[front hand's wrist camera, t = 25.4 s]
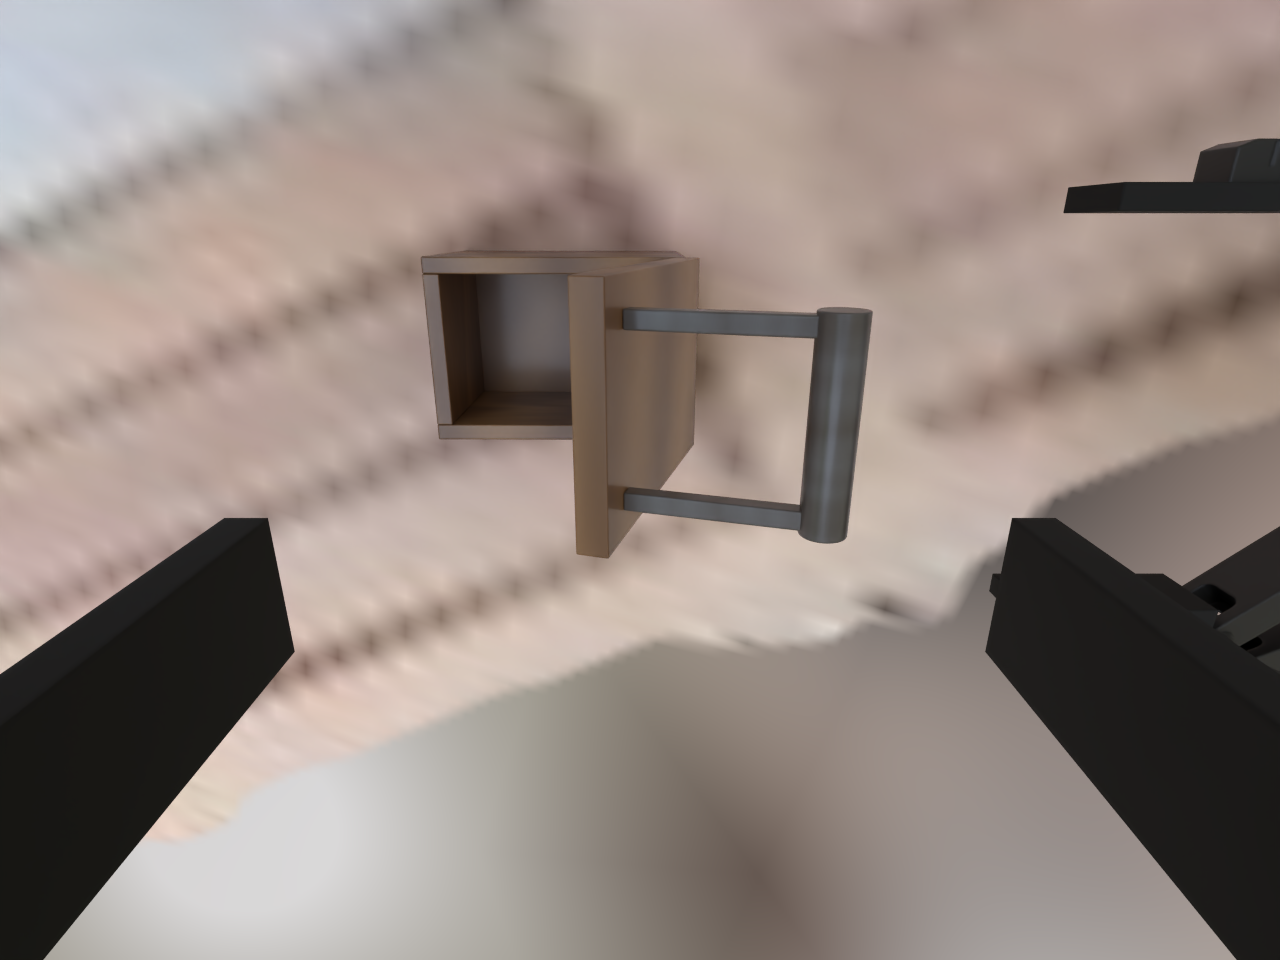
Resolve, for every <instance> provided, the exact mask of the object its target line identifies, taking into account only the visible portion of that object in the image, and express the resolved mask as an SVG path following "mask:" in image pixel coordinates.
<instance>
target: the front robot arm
mask: <svg viewBox="0 0 1280 960" xmlns="http://www.w3.org/2000/svg"><path fill="white" fill-rule="evenodd" d="M294 652H295V651H294V646H293V641H292V636H291V631H290V626H289V621H288V616H287V611H286V606H285V601H284V596H283V591H282V586H281V581H280V576H279V571H278V566H277V561H276V556H275V552H274V547H273V542H272V537H271V532H270V527H269V522H268V518H224V519H222V520H221V521H220V522H218V523H217V524H215V525H214V526H212V527H211V528H209V529H208V530H207V531H205V532H204V533H202V534H201V535H199V536H198V537H197V538H195V539H194V540H192V541H191V542H189V543H188V544H187V545H185V546H184V547H182V548H181V549H179V550H178V551H176V552H175V553H174V554H172V555H171V556H169V557H168V558H166V559H165V560H164V561H162V562H161V563H159V564H158V565H156V566H155V567H154V568H152V569H151V570H149V571H148V572H146V573H145V574H144V575H142V576H141V577H139V578H138V579H136V580H135V581H133V582H132V583H131V584H129V585H128V586H126V587H125V588H123V589H122V590H121V591H119V592H118V593H116V594H115V595H113V596H112V597H111V598H109V599H108V600H106V601H105V602H103V603H102V604H100V605H99V606H98V607H96V608H95V609H93V610H92V611H90V612H89V613H88V614H86V615H85V616H83V617H82V618H80V619H79V620H78V621H76V622H75V623H73V624H72V625H70V626H69V627H67V628H66V629H65V630H63V631H62V632H60V633H59V634H57V635H56V636H55V637H53V638H52V639H50V640H49V641H47V642H46V643H45V644H43V645H42V646H40V647H39V648H37V649H36V650H34V651H33V652H32V653H30V654H29V655H27V656H26V657H24V658H23V659H22V660H20V661H19V662H17V663H16V664H14V665H13V666H12V667H10V668H9V669H7V670H6V671H4V672H3V673H1V674H0V960H43V959H44V958H45V957H46V956H47V955H48V953H49V952H50V951H51V950H52V948H53V947H54V946H55V945H56V943H57V942H58V941H59V940H60V939H61V937H62V936H63V935H64V934H65V933H66V931H67V930H68V929H69V928H70V926H71V925H72V924H73V923H74V921H75V920H76V919H77V918H78V917H79V915H80V914H81V913H82V912H83V910H84V909H85V908H86V907H87V906H88V904H89V903H90V902H91V901H92V899H93V898H94V897H95V896H96V895H97V893H98V892H99V891H100V890H101V888H102V887H103V886H104V885H105V883H106V882H107V881H108V880H109V879H110V877H111V876H112V875H113V874H114V872H115V871H116V870H117V869H118V867H119V866H120V865H121V864H122V863H123V861H124V860H125V859H126V858H127V856H128V855H129V854H130V853H131V852H132V850H133V849H134V848H135V847H136V845H137V844H138V843H139V842H140V841H141V839H142V838H143V837H144V836H145V834H146V833H147V832H148V831H149V830H150V828H151V827H152V826H153V825H154V823H155V822H156V821H157V820H158V819H159V817H160V816H161V815H162V814H163V812H164V811H165V810H166V809H167V808H168V806H169V805H170V804H171V803H172V801H173V800H174V799H175V798H176V796H177V795H178V794H179V793H180V792H181V790H182V789H183V788H184V787H185V785H186V784H187V783H188V782H189V781H190V779H191V778H192V777H193V776H194V774H195V773H196V772H197V771H198V770H199V768H200V767H201V766H202V765H203V763H204V762H205V761H206V760H207V758H208V757H209V756H210V755H211V754H212V752H213V751H214V750H215V749H216V747H217V746H218V745H219V744H220V743H221V741H222V740H223V739H224V738H225V736H226V735H227V734H228V733H229V732H230V730H231V729H232V728H233V727H234V725H235V724H236V723H237V722H238V720H239V719H240V718H241V717H242V716H243V714H244V713H245V712H246V711H247V709H248V708H249V707H250V706H251V705H252V703H253V702H254V701H255V700H256V698H257V697H258V696H259V695H260V694H261V692H262V691H263V690H264V689H265V687H266V686H267V685H268V684H269V682H270V681H271V680H272V679H273V678H274V676H275V675H276V674H277V673H278V671H279V670H280V669H281V668H282V667H283V665H284V664H285V663H286V662H287V660H288V659H289V658H290V657H291V656H292V654H293V653H294ZM985 652H986V653H987V654H988V656H989V657H990V658H991V659H992V660H993V662H994V663H995V664H996V665H997V667H998V668H999V669H1000V670H1001V671H1002V673H1003V674H1004V675H1005V676H1006V678H1007V679H1008V680H1009V681H1010V682H1011V684H1012V685H1013V686H1014V687H1015V689H1016V690H1017V691H1018V692H1019V693H1020V695H1021V696H1022V697H1023V698H1024V700H1025V701H1026V702H1027V703H1028V705H1029V706H1030V707H1031V708H1032V709H1033V711H1034V712H1035V713H1036V714H1037V716H1038V717H1039V718H1040V719H1041V720H1042V722H1043V723H1044V724H1045V725H1046V727H1047V728H1048V729H1049V730H1050V731H1051V733H1052V734H1053V735H1054V736H1055V738H1056V739H1057V740H1058V741H1059V743H1060V744H1061V745H1062V746H1063V747H1064V749H1065V750H1066V751H1067V752H1068V753H1069V755H1070V756H1071V757H1072V758H1073V760H1074V761H1075V762H1076V763H1077V765H1078V766H1079V767H1080V768H1081V769H1082V771H1083V772H1084V773H1085V774H1086V776H1087V777H1088V778H1089V779H1090V781H1091V782H1092V783H1093V784H1094V785H1095V787H1096V788H1097V789H1098V790H1099V792H1100V793H1101V794H1102V795H1103V796H1104V798H1105V799H1106V800H1107V801H1108V803H1109V804H1110V805H1111V806H1112V808H1113V809H1114V810H1115V811H1116V812H1117V814H1118V815H1119V816H1120V817H1121V818H1122V820H1123V821H1124V822H1125V823H1126V825H1127V826H1128V827H1129V828H1130V830H1131V831H1132V832H1133V833H1134V834H1135V836H1136V837H1137V838H1138V839H1139V841H1140V842H1141V843H1142V844H1143V845H1144V847H1145V848H1146V849H1147V850H1148V852H1149V853H1150V854H1151V855H1152V857H1153V858H1154V859H1155V860H1156V861H1157V863H1158V864H1159V865H1160V866H1161V868H1162V869H1163V870H1164V871H1165V872H1166V874H1167V875H1168V876H1169V877H1170V879H1171V880H1172V881H1173V882H1174V883H1175V885H1176V886H1177V887H1178V888H1179V890H1180V891H1181V892H1182V893H1183V894H1184V896H1185V897H1186V898H1187V899H1188V901H1189V902H1190V903H1191V904H1192V906H1193V907H1194V908H1195V909H1196V910H1197V912H1198V913H1199V914H1200V915H1201V917H1202V918H1203V919H1204V920H1205V921H1206V923H1207V924H1208V925H1209V926H1210V928H1211V929H1212V930H1213V931H1214V933H1215V934H1216V935H1217V936H1218V937H1219V939H1220V940H1221V941H1222V942H1223V944H1224V945H1225V946H1226V947H1227V948H1228V950H1229V951H1230V952H1231V953H1232V955H1233V956H1234V957H1235V958H1236V959H1237V960H1280V672H1279V671H1277V670H1275V669H1273V668H1271V667H1269V666H1267V665H1266V664H1264V663H1263V662H1261V661H1260V660H1258V659H1257V658H1256V657H1254V656H1253V655H1251V654H1250V653H1248V652H1247V651H1246V650H1244V649H1243V648H1241V647H1240V646H1238V645H1237V644H1235V643H1234V642H1233V641H1231V640H1230V639H1228V638H1227V637H1225V636H1224V635H1223V634H1221V633H1220V632H1218V631H1217V630H1215V629H1214V628H1213V627H1211V626H1210V625H1208V624H1207V623H1205V622H1204V621H1202V620H1201V619H1200V618H1198V617H1197V616H1195V615H1194V614H1192V613H1191V612H1190V611H1188V610H1187V609H1185V608H1184V607H1182V606H1181V605H1180V604H1178V603H1177V602H1175V601H1174V600H1172V599H1171V598H1169V597H1168V596H1167V595H1165V594H1164V593H1162V592H1161V591H1159V590H1158V589H1157V588H1155V587H1154V586H1152V585H1151V584H1149V583H1148V582H1147V581H1145V580H1144V579H1142V578H1141V577H1139V576H1138V575H1136V574H1135V573H1134V572H1132V571H1131V570H1129V569H1128V568H1126V567H1125V566H1124V565H1122V564H1121V563H1119V562H1118V561H1116V560H1115V559H1114V558H1112V557H1111V556H1109V555H1108V554H1106V553H1105V552H1103V551H1102V550H1101V549H1099V548H1098V547H1096V546H1095V545H1093V544H1092V543H1091V542H1089V541H1088V540H1086V539H1085V538H1083V537H1082V536H1081V535H1079V534H1078V533H1076V532H1075V531H1073V530H1072V529H1070V528H1069V527H1068V526H1066V525H1065V524H1063V523H1062V522H1060V521H1059V520H1058V519H1056V518H1012V522H1011V527H1010V532H1009V537H1008V542H1007V547H1006V552H1005V556H1004V562H1003V567H1002V571H1001V576H1000V581H999V586H998V591H997V596H996V601H995V606H994V611H993V616H992V621H991V626H990V631H989V636H988V641H987V646H986V651H985Z"/></svg>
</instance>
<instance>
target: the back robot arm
mask: <svg viewBox="0 0 1280 960" xmlns="http://www.w3.org/2000/svg"><path fill="white" fill-rule="evenodd" d="M1064 213H1280V139H1253V140H1246V141H1239V142H1232V143H1225V144H1219V145H1216V146H1214V147H1211V148H1209V149H1206V150H1204V151H1201V152H1200V156H1199V160H1198V164H1197V168H1196V172H1195V176H1194V179H1193V182H1121V183H1111V184H1100V185H1090V186H1079V187H1069V188H1068V193H1067V198H1066V203H1065V208H1064ZM1136 575H1138V576H1139V577H1141V578H1142V579H1144V580H1145V581H1147V582H1148V583H1149V584H1151V585H1152V586H1154V587H1155V588H1157V589H1158V590H1159V591H1161V592H1162V593H1164V594H1165V595H1167V596H1168V597H1169V598H1171V599H1172V600H1174V601H1175V602H1177V603H1178V604H1180V605H1181V606H1182V607H1184V608H1185V609H1187V610H1188V611H1190V612H1191V613H1192V614H1194V615H1195V616H1197V617H1198V618H1200V619H1201V620H1202V621H1204V622H1205V623H1207V624H1208V625H1210V626H1211V627H1213V628H1214V629H1215V630H1217V631H1218V632H1220V633H1221V634H1223V635H1224V636H1225V637H1227V638H1228V639H1230V640H1231V641H1233V642H1234V643H1235V644H1237V645H1238V646H1240V647H1241V648H1243V649H1244V650H1246V651H1247V652H1248V653H1250V654H1251V655H1253V656H1254V657H1256V658H1257V659H1258V660H1260V661H1261V662H1263V663H1264V664H1266V665H1267V666H1269V667H1271V668H1273V669H1275V670H1277V671H1279V672H1280V527H1278V528H1276V529H1275V530H1273V531H1271V532H1270V533H1268V534H1267V535H1265V536H1263V537H1262V538H1260V539H1258V540H1257V541H1255V542H1253V543H1252V544H1250V545H1249V546H1247V547H1245V548H1244V549H1242V550H1240V551H1239V552H1237V553H1235V554H1234V555H1232V556H1231V557H1229V558H1227V559H1226V560H1224V561H1222V562H1221V563H1219V564H1218V565H1216V566H1214V567H1213V568H1211V569H1209V570H1208V571H1206V572H1204V573H1203V574H1201V575H1199V576H1198V577H1196V578H1195V579H1193V580H1191V581H1190V582H1188V583H1186V584H1185V585H1183V586H1181V585H1179V584H1178V583H1176V582H1175V581H1173V580H1172V579H1170V578H1169V577H1167V576H1166V575H1164V574H1136ZM1000 576H1001V574H993V575H992V580H991V585H990V590H989V591H990V592H991V593H992V594H993V595H994V596H995V597H996V596H997V591H998V586H999V581H1000ZM1218 612H1220V613H1221V614H1220V615H1217V614H1218Z"/></svg>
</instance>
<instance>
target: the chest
mask: <svg viewBox="0 0 1280 960" xmlns="http://www.w3.org/2000/svg"><path fill="white" fill-rule="evenodd" d="M671 258H686V257H684V256H683V255H681V254H680V253H678V252H676V251H460V252H453V253H445V254H437V255H430V256H422V257H421V265H422V273H423V275H422V276H423V286H424V295H425V305H426V315H427V325H428V335H429V345H430V354H431V364H432V374H433V384H434V394H435V404H436V413H437V423H438V424H439V425H438V433H439V439H572V440H573V431H572V400H571V370H570V339H569V308H568V275H572V274H578V273H585V272H591V271H597V270H603V269H609V268H615V267H621V266H628V265H634V264H640V263H646V262H652V261H658V260H664V259H671Z"/></svg>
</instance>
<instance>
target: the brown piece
mask: <svg viewBox="0 0 1280 960" xmlns="http://www.w3.org/2000/svg"><path fill="white" fill-rule="evenodd" d="M698 289H699V258H671V259H664V260H658V261H652V262H646V263H640V264H634V265H628V266H621V267H615V268H609V269H603V270H597V271H591V272H585V273H578V274H572V275H568V308H569V339H570V370H571V400H572V431H573V462H574V493H575V523H576V553H577V554H579V555H586V556H593V557H601V558H609V557H610V556H611V554H612V553H613V552H614V550H615V549H616V548H617V546H618V545H619V544H620V542H621V541H622V540H623V538H624V537H625V536H626V534H627V533H628V532H629V530H630V529H631V528H632V526H633V525H634V524H635V522H636V521H637V519H638V518H639V517H640V515H641V514H642V513H651V514H660V515H668V516H677V517H686V518H694V519H703V520H712V521H720V522H729V523H738V524H746V525H755V526H764V527H772V528H781V529H789V530H798V533H799V535H800V536H801V537H803V538H805V539H807V540H809V541H813V542H817V543H827V544H828V543H838V542H841V541H843V540H845V539H846V537H847V531H848V522H849V514H850V505H851V496H852V488H853V479H854V470H855V462H856V453H857V444H858V436H859V427H860V418H861V410H862V401H863V392H864V384H865V375H866V366H867V358H868V349H869V340H870V332H871V323H872V314H873V312H872V311H871V310H868V309H861V308H848V307H828V308H820V309H818V310H817V313H799V312H769V311H740V310H710V309H698ZM697 333H699V334H722V335H745V336H768V337H791V338H814V350H813V362H812V373H811V384H810V396H809V407H808V418H807V430H806V441H805V452H804V464H803V475H802V486H801V498H800V505H796V504H786V503H777V502H767V501H758V500H748V499H739V498H729V497H720V496H710V495H701V494H692V493H682V492H673V491H663V490H660V489H661V487H662V486H663V485H664V483H665V482H666V481H667V479H668V478H669V477H670V475H671V474H672V473H673V471H674V470H675V469H676V467H677V466H678V465H679V463H680V462H681V461H682V459H683V458H684V457H685V455H686V454H687V453H688V451H689V450H690V449H691V447H692V446H693V445H694V421H695V388H696V355H697Z"/></svg>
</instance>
